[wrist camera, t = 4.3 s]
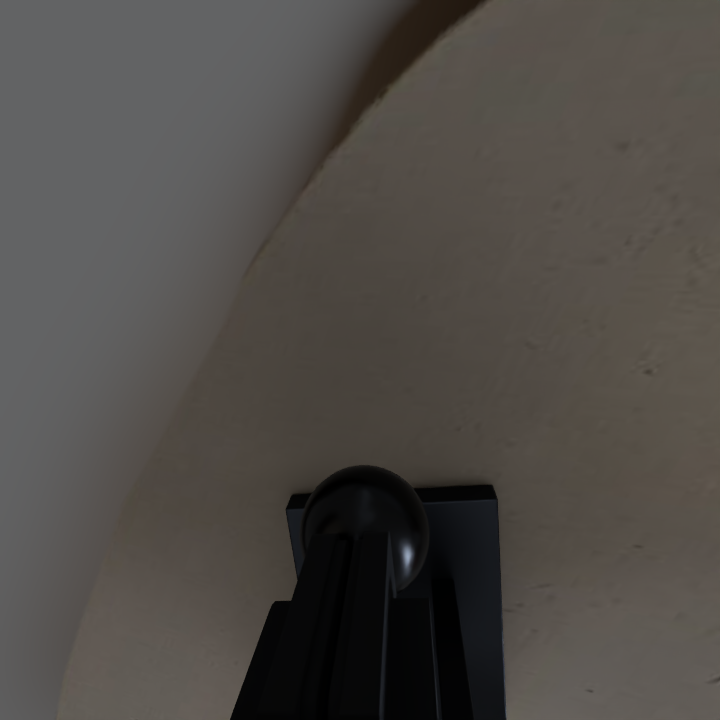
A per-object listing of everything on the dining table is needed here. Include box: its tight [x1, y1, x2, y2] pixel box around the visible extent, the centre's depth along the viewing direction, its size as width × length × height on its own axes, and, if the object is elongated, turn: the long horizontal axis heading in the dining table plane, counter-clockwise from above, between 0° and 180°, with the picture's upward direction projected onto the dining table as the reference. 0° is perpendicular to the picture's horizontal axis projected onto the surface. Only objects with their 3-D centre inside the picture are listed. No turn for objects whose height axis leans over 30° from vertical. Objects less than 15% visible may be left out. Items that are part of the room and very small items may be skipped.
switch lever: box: [299, 465, 430, 595], centre depth 12 cm, size 13×3×3 cm, turn 6°
